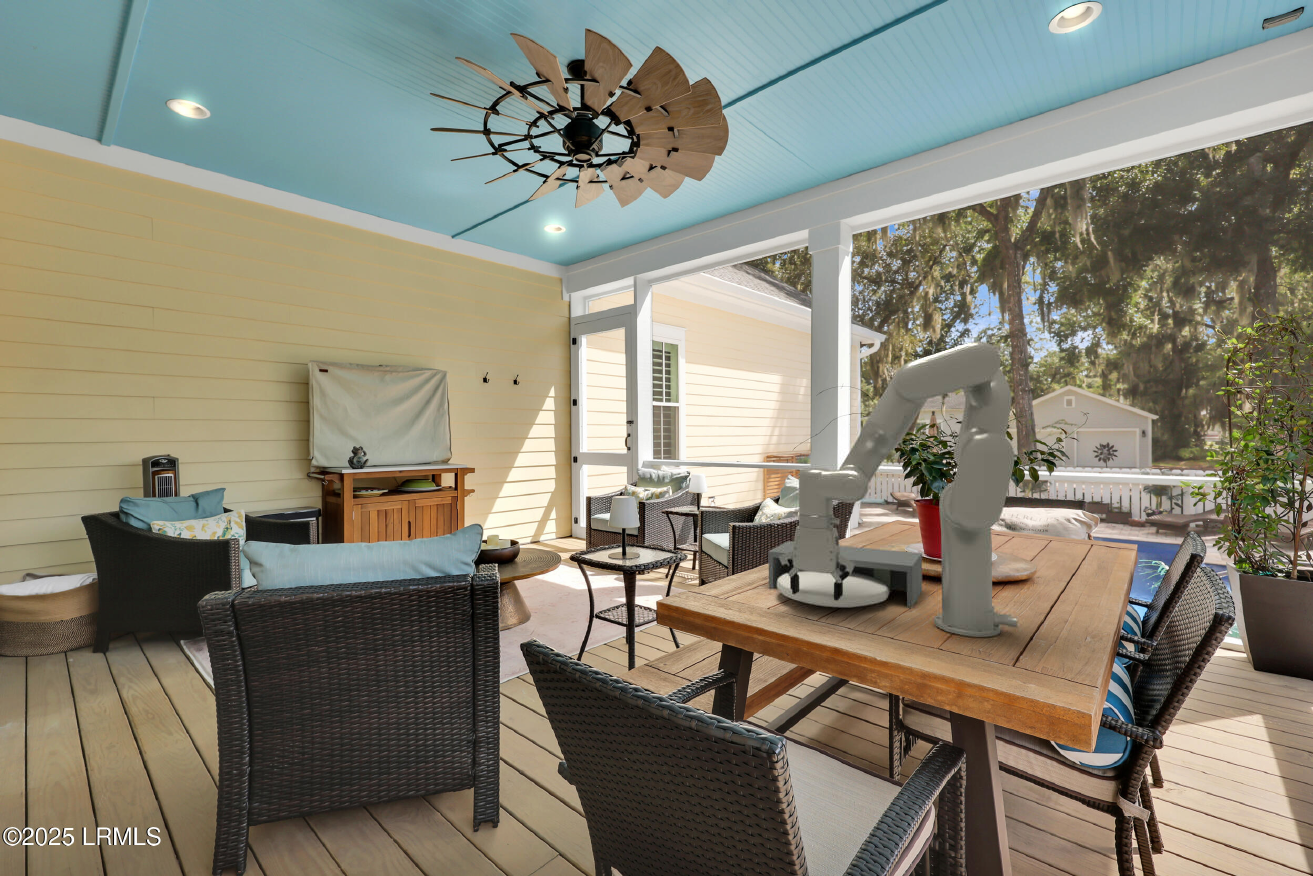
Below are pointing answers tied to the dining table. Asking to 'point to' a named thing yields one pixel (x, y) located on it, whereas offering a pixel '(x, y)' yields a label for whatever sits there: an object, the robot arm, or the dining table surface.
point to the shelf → (867, 567)
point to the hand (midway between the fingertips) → (816, 595)
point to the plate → (821, 589)
